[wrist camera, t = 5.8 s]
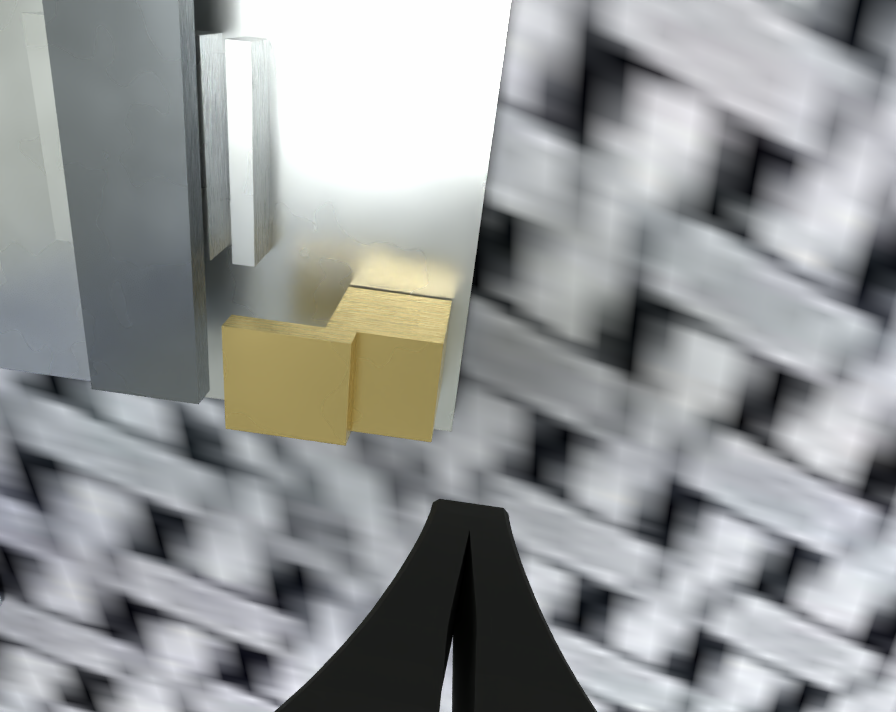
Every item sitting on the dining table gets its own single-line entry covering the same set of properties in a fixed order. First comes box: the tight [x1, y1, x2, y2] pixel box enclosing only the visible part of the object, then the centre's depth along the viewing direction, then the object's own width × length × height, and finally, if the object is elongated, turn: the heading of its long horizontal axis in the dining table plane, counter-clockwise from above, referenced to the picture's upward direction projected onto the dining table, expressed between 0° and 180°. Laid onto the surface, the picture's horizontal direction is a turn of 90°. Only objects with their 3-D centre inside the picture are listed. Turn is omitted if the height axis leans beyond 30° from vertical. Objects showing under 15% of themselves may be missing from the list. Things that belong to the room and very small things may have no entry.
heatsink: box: [0, 0, 511, 432], centre depth 19 cm, size 15×15×3 cm
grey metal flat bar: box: [42, 0, 210, 404], centre depth 17 cm, size 13×3×1 cm, turn 173°
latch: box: [221, 287, 452, 446], centre depth 19 cm, size 3×5×4 cm, turn 83°
